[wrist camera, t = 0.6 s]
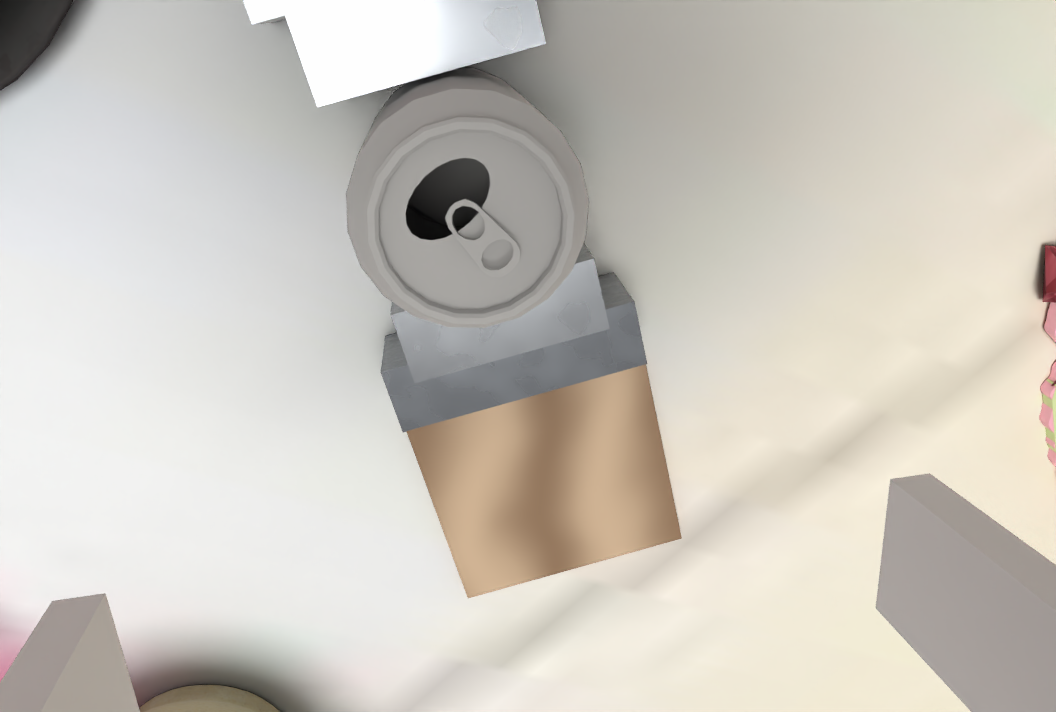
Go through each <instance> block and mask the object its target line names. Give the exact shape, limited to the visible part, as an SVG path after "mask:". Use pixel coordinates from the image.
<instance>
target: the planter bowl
mask: <svg viewBox="0 0 1056 712" xmlns="http://www.w3.org/2000/svg"><path fill="white" fill-rule="evenodd" d="M139 710H140V712H280V711H279V710H278V709H276V708H275V707H274V706H273V705H271V704H270V703H268V702H267V701H265V700H264V699H262V698H261V697H259V696H257V695H255V694H252V693H250V692H247V691H244V690H241V689H237V688H233V687H227V686H221V685H194V686H186V687H181V688H177V689H173V690H170V691H167V692H165V693H162V694H160V695H158V696H156V697H154V698H152V699H151V700H149V701H148V702H146V703H145V704H144V705H142V706H141V707H140V708H139Z"/></svg>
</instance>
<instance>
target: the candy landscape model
mask: <svg viewBox="0 0 1056 712" xmlns="http://www.w3.org/2000/svg"><path fill="white" fill-rule="evenodd" d="M1043 302H1051V303H1050V307H1049V310H1048V313H1047V319H1046V322H1045V325H1044V328H1045V331H1046V332H1047V333H1048V335H1049V336H1050V337H1051V338H1052V339H1053V340H1054V341H1055V342H1056V246H1048V245H1045V260H1044V282H1043ZM1040 389H1041V392H1042V394H1043V403H1042V409H1041V413H1040V416H1039V418H1040V421H1041V422H1042V424H1043V425H1044V426H1045V429H1046V442H1047V445H1048V446H1049V451H1048V458H1049V460H1050V461H1051V462H1052V463H1053V465H1054V466H1055V467H1056V362H1055V363H1054V364H1053V366H1052V369H1051V374H1050V376H1049V377H1048V379H1047V380H1045V381H1044V383H1043V384H1042V385H1041V388H1040Z"/></svg>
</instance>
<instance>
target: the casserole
mask: <svg viewBox="0 0 1056 712" xmlns="http://www.w3.org/2000/svg"><path fill="white" fill-rule="evenodd" d="M72 2H73V0H0V90H2V89H3V88H5V87H6V86H8V85H9V84H11V83H13V82H14V81H16V80H17V79H18V78H19V77H20V76H21V75H22V74H23V73H24V72H25V70H26V69H27V68H28V67H29V66H30V65H31V64H32V63H33V62H34V61H35V60H36V59H37V57H38V56H39V55H40V54H41V53H42V52H43V51H44V50H45V49H46V48H47V47H48V46H49V44H50V42H51V41H52V39H53V37H54V35H55V33H56V31H57V30H58V28H59V26H60V24H61V22H62V21H63V19H64V17H65V15H66V13H67V12H68V10H69V8H70V6H71V4H72Z"/></svg>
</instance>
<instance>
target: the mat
mask: <svg viewBox="0 0 1056 712" xmlns="http://www.w3.org/2000/svg"><path fill="white" fill-rule="evenodd" d="M407 434H408V437H409V439H410V442H411V445H412V448H413V450H414V453H415V456H416V458H417V461H418V464H419V467H420V469H421V472H422V475H423V477H424V480H425V483H426V486H427V488H428V491H429V494H430V496H431V499H432V502H433V505H434V507H435V510H436V513H437V515H438V518H439V521H440V524H441V526H442V529H443V532H444V534H445V537H446V540H447V543H448V545H449V548H450V551H451V553H452V556H453V559H454V561H455V564H456V567H457V570H458V572H459V575H460V578H461V580H462V583H463V586H464V589H465V591H466V594H467V597H468V598H471V597H474V596H478V595H482V594H485V593H489V592H492V591H496V590H499V589H503V588H506V587H510V586H514V585H517V584H521V583H524V582H528V581H531V580H535V579H539V578H542V577H546V576H549V575H553V574H556V573H560V572H564V571H567V570H571V569H574V568H578V567H581V566H585V565H588V564H592V563H596V562H599V561H603V560H606V559H610V558H613V557H617V556H621V555H624V554H628V553H631V552H635V551H638V550H642V549H646V548H649V547H653V546H656V545H660V544H663V543H667V542H670V541H674V540H678V539H681V533H680V528H679V523H678V518H677V513H676V509H675V504H674V499H673V494H672V489H671V484H670V480H669V475H668V470H667V465H666V460H665V455H664V450H663V446H662V441H661V436H660V431H659V426H658V421H657V416H656V412H655V407H654V402H653V397H652V392H651V387H650V383H649V378H648V373H647V368H646V364H645V365H642V366H638V367H635V368H631V369H627V370H624V371H620V372H617V373H613V374H609V375H606V376H602V377H599V378H595V379H592V380H588V381H584V382H581V383H577V384H574V385H570V386H567V387H563V388H559V389H556V390H552V391H549V392H545V393H542V394H538V395H534V396H531V397H527V398H524V399H520V400H516V401H513V402H509V403H506V404H502V405H499V406H495V407H491V408H488V409H484V410H481V411H477V412H474V413H470V414H466V415H463V416H459V417H456V418H452V419H449V420H445V421H441V422H438V423H434V424H431V425H427V426H423V427H420V428H416V429H413V430H409V431H407Z"/></svg>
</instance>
